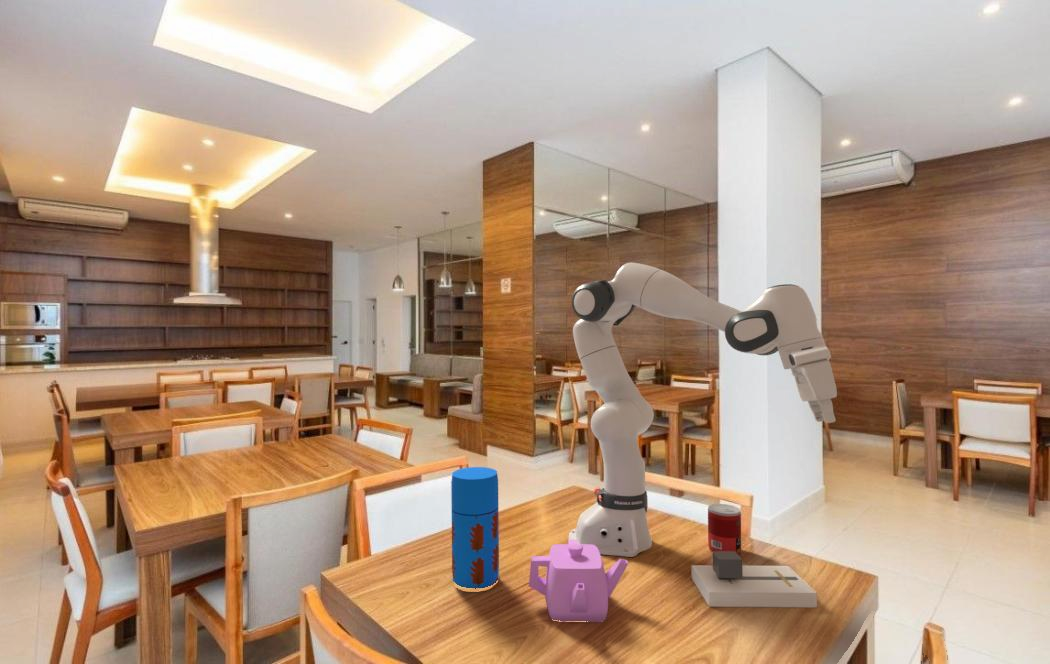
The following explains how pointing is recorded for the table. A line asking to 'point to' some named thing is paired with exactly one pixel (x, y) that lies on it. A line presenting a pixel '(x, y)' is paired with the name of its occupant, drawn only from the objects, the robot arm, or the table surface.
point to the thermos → (475, 527)
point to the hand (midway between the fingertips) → (825, 421)
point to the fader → (727, 564)
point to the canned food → (724, 528)
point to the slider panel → (754, 587)
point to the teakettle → (575, 582)
